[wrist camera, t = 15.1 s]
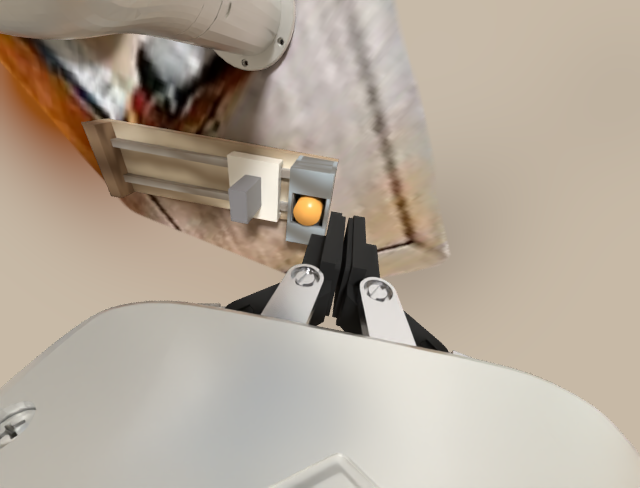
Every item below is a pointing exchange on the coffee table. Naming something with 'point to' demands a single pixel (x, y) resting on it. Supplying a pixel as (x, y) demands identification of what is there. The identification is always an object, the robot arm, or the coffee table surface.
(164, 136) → the rail bed
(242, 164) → the carriage
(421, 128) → the coffee table surface
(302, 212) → the button
